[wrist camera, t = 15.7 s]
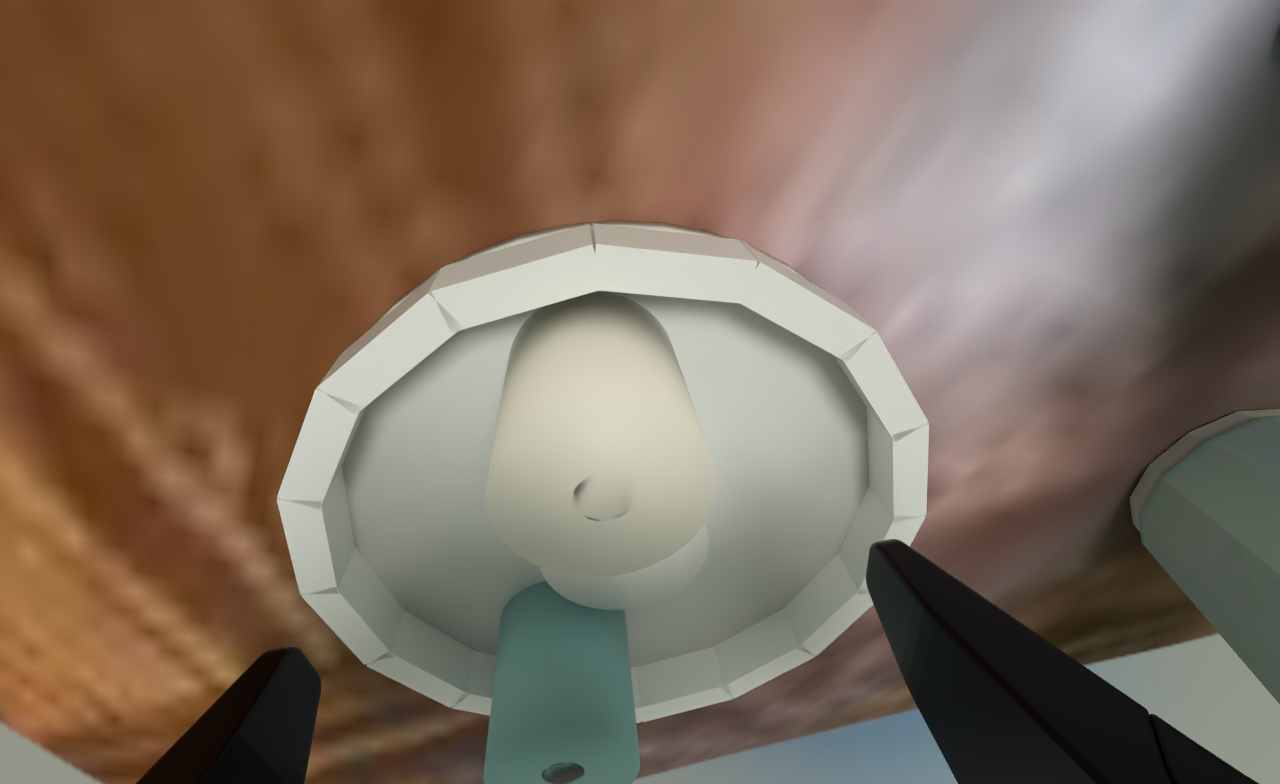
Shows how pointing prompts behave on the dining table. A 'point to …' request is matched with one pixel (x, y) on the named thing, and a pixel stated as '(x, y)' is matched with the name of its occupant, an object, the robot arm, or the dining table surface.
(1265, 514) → the disposable coffee cup
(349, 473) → the groove dish
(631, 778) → the teal bead
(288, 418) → the dining table surface
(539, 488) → the cream bead
